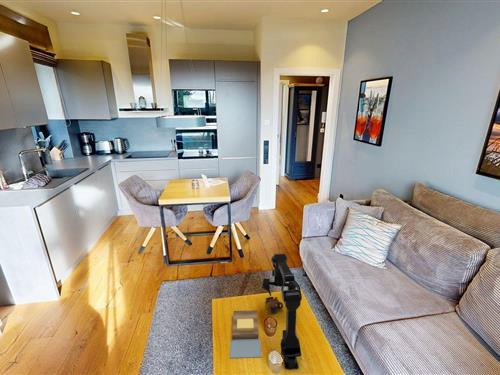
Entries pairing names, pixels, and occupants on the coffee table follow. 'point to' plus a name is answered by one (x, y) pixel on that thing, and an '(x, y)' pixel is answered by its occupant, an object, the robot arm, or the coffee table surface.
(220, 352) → the coffee table surface
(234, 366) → the coffee table surface
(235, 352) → the mat
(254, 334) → the deck
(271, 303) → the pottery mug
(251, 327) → the bevelled yellow tile
